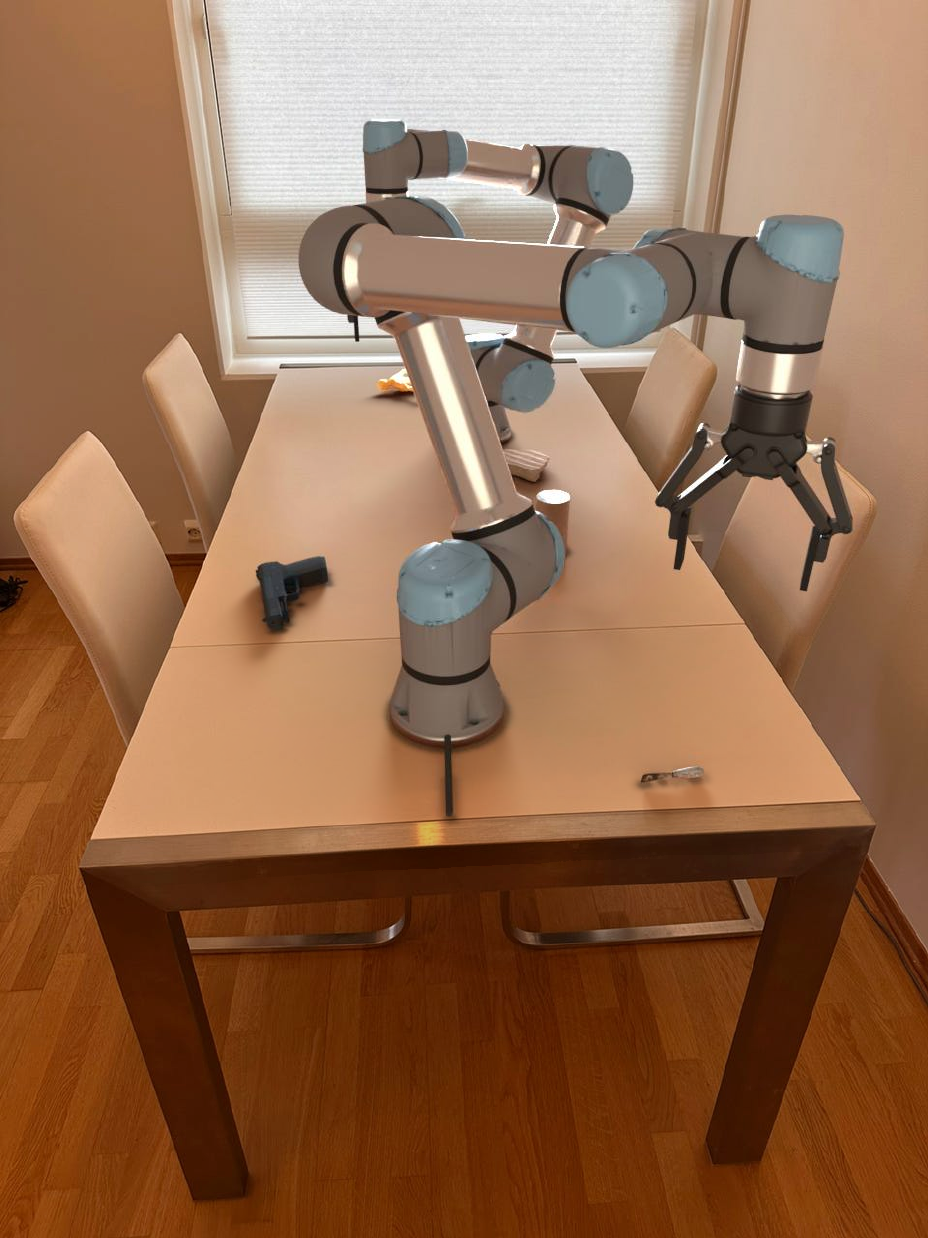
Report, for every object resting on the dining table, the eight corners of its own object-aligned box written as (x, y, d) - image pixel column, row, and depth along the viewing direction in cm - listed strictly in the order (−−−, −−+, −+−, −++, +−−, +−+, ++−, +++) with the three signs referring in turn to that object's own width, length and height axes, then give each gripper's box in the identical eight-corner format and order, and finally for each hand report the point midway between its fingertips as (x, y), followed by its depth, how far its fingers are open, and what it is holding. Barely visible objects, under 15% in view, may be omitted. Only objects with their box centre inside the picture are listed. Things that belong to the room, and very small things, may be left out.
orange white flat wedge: (371, 392, 238) (370, 377, 236) (413, 371, 252) (412, 357, 250) (432, 405, 230) (432, 390, 227) (472, 383, 244) (472, 369, 241)
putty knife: (703, 777, 109) (705, 767, 109) (642, 788, 108) (644, 777, 107) (700, 772, 110) (702, 762, 109) (639, 782, 109) (640, 771, 108)
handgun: (340, 621, 141) (263, 633, 138) (325, 568, 155) (255, 578, 152) (339, 604, 139) (261, 615, 136) (323, 552, 153) (252, 561, 151)
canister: (544, 540, 164) (547, 487, 159) (572, 548, 161) (575, 494, 156) (528, 552, 160) (530, 498, 155) (556, 561, 157) (559, 506, 152)
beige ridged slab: (554, 462, 195) (554, 451, 194) (536, 482, 186) (537, 471, 185) (499, 454, 200) (499, 444, 198) (479, 474, 190) (479, 463, 189)
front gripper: (909, 389, 88) (859, 578, 99) (655, 364, 95) (636, 542, 106) (912, 413, 82) (859, 611, 93) (641, 384, 89) (622, 570, 100)
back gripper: (318, 222, 155) (327, 346, 166) (459, 219, 158) (459, 340, 170) (317, 216, 161) (326, 335, 172) (453, 213, 165) (454, 331, 176)
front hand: (739, 574), depth 100 cm, fingers open, 13 cm apart
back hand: (392, 338), depth 171 cm, fingers open, 13 cm apart
